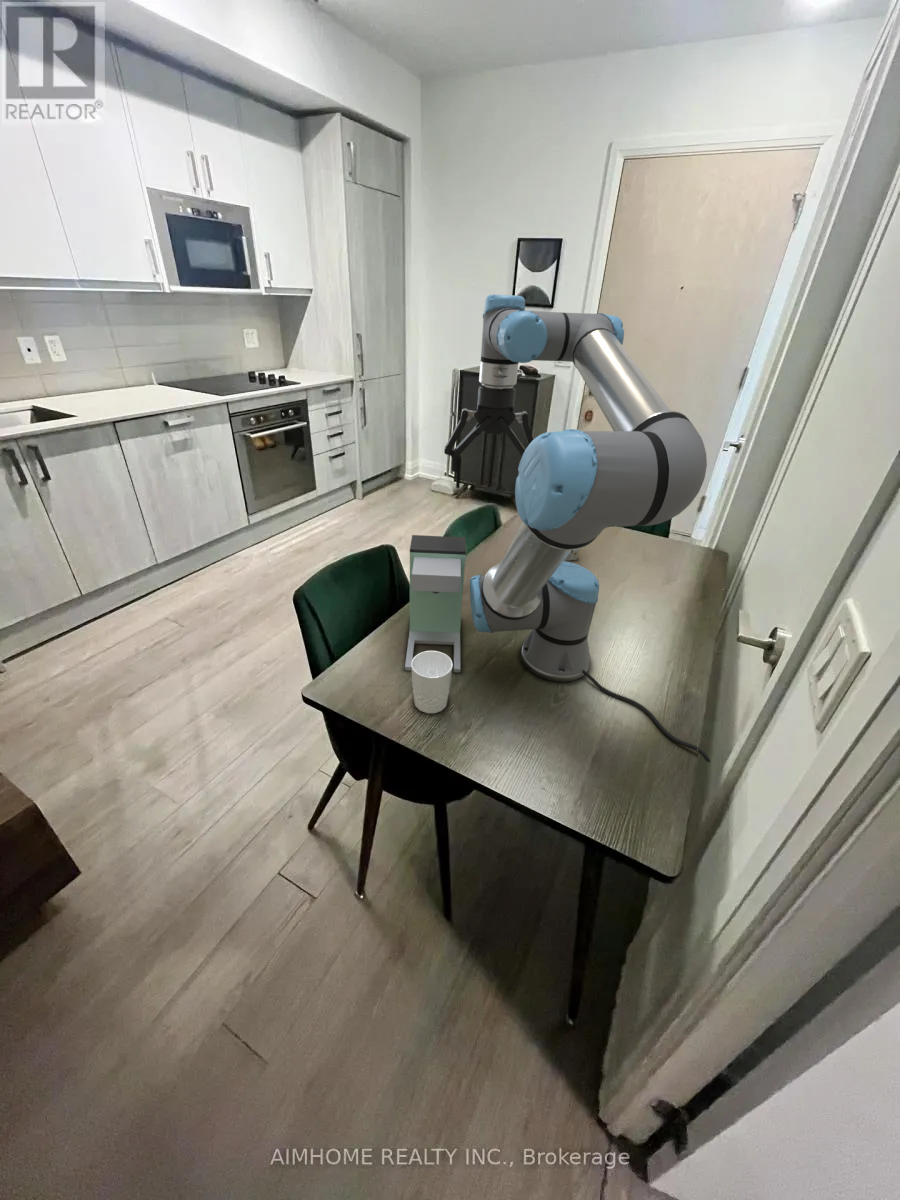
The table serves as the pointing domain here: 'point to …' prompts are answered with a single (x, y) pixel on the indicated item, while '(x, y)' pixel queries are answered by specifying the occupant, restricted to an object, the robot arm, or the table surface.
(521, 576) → the robot arm
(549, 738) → the table surface
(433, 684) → the white cup
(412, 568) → the coffee machine
